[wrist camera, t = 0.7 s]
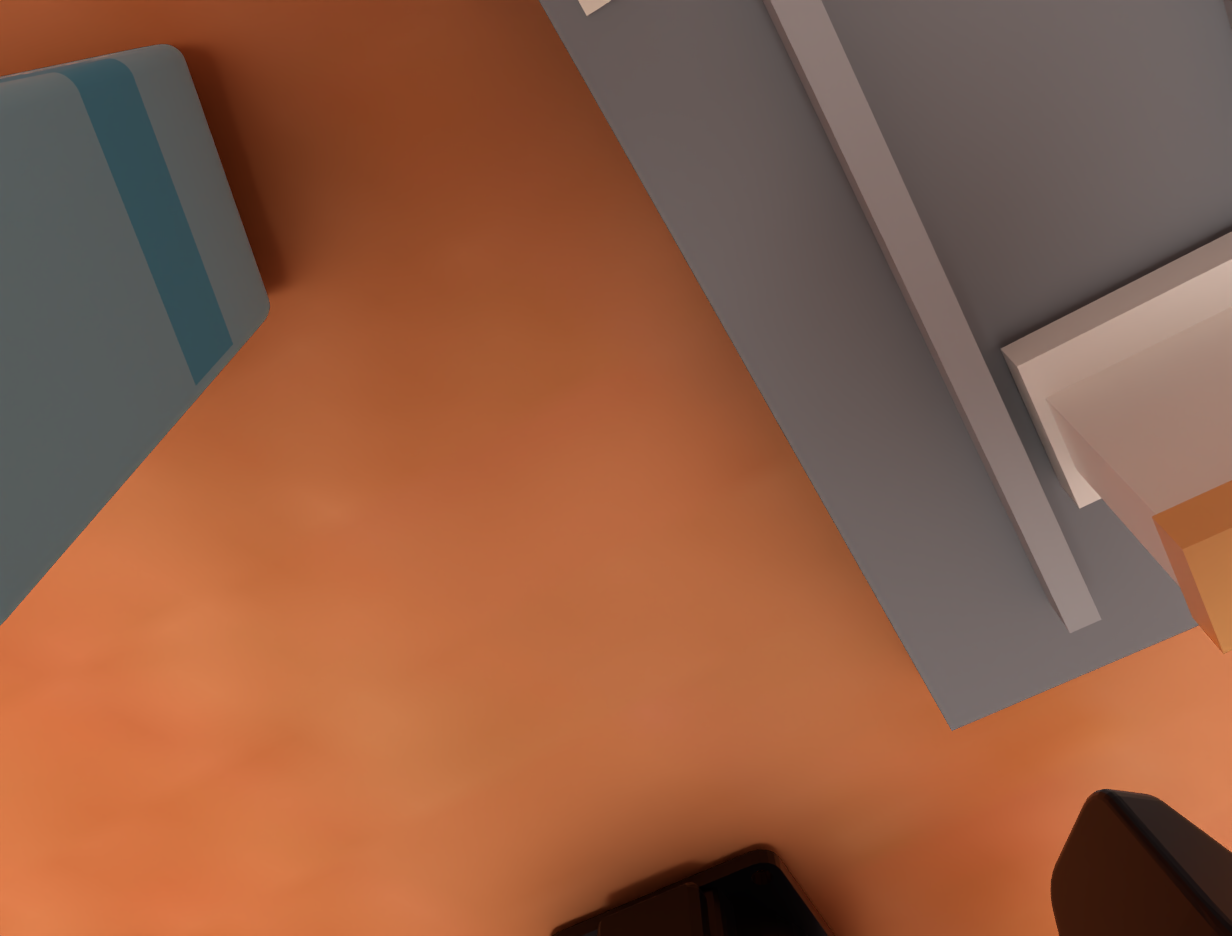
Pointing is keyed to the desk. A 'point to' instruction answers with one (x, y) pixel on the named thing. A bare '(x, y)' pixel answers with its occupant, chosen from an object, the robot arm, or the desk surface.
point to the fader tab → (1148, 417)
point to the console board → (932, 272)
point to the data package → (106, 288)
